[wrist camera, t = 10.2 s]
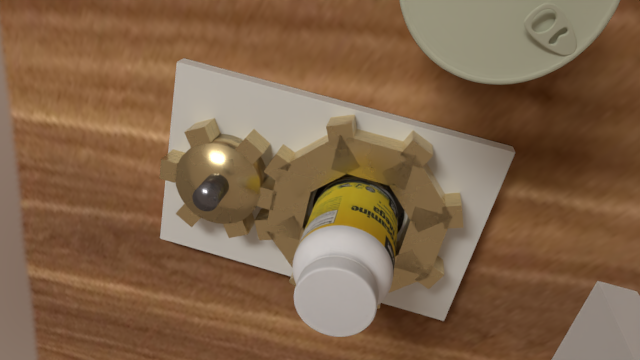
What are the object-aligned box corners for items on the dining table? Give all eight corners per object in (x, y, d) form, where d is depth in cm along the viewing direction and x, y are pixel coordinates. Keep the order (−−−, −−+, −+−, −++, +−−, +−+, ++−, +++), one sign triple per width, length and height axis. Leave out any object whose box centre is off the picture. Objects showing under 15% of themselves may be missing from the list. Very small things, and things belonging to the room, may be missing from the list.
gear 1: (177, 107, 38) (148, 126, 34) (292, 139, 37) (276, 162, 33) (167, 205, 41) (140, 232, 38) (271, 235, 41) (256, 266, 37)
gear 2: (283, 95, 36) (276, 103, 34) (486, 149, 35) (490, 161, 33) (251, 261, 42) (243, 275, 41) (422, 311, 41) (422, 328, 40)
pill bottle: (415, 223, 38) (414, 321, 28) (348, 260, 40) (325, 363, 31) (365, 157, 37) (346, 237, 27) (299, 200, 39) (258, 288, 29)
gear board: (183, 58, 37) (176, 61, 36) (512, 146, 36) (515, 152, 35) (166, 231, 44) (160, 238, 43) (443, 311, 43) (443, 321, 41)
